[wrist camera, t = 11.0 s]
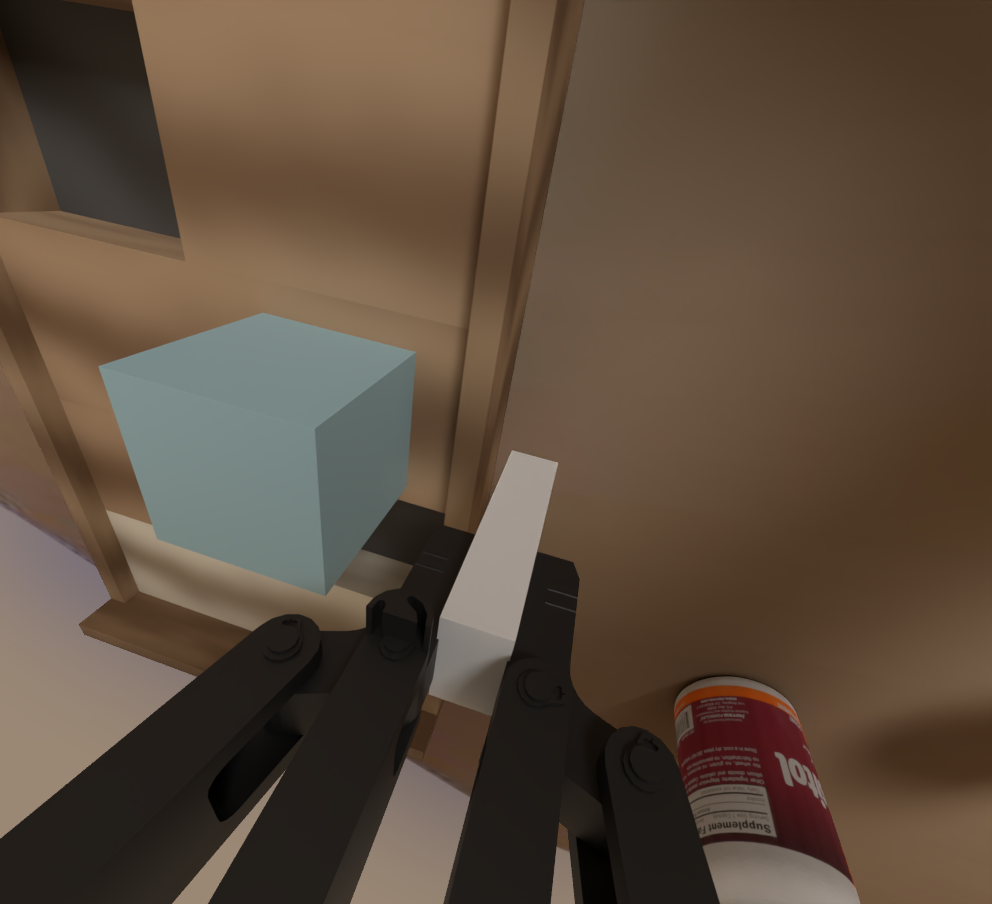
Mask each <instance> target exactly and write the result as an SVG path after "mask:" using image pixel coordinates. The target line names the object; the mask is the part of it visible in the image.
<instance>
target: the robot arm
mask: <svg viewBox="0 0 992 904" xmlns="http://www.w3.org/2000/svg"><path fill="white" fill-rule="evenodd" d="M557 466H558V463H557V462H554V461H550V460H546V459H542V458H539V457H535V456H531V455H528V454H524V453H520V452H517V451H513V450H512V451H511V454H510V456H509V458H508V461H507V463H506V465H505V468H504V470H503V472H502V475H501V477H500V479H499V481H498V484H497V486H496V488H495V491H494V493H493V495H492V498H491V500H490V502H489V505H488V507H487V509H486V512H485V514H484V516H483V518H482V521H481V523H480V525H479V528H478V530H477V532H476V535H475V534H472V533H469V532H465V531H462V530H459V529H455V528H452V527H449V526H445V525H444V526H443V527H442V528H440V529H439V530H437V531H436V532H435V533H433V534H432V535H430V537H429V539H428V541H427V542H426V544H425V546H424V548H423V549H422V552H421V553H420V555H419V557H418V558H417V560H416V562H415V565H413V567H412V569H411V571H410V572H409V574H408V576H407V578H406V580H405V581H404V583H403V585H402V587H401V588H399V589H393V590H387V591H385V592H383V593H381V594H379V595H377V596H375V597H374V598H373V599H372V600H371V601H370V602H369V603H368V604H367V605H366V627H365V628H362V629H358V630H351V631H320V630H319V626H318V625H317V624H316V623H315V622H314V621H313V620H312V619H311V618H308V617H306V616H303V615H301V614H285V615H282V616H278V617H275V618H272V619H270V620H268V621H267V622H265V623H264V624H262V625H260V626H259V627H258V628H256V629H255V630H254V631H253V632H251V633H250V634H249V635H248V636H247V637H245V638H244V639H243V640H242V641H241V642H239V643H238V644H237V645H236V646H234V647H233V648H232V649H231V650H230V651H228V652H227V653H226V654H225V655H223V656H222V657H221V658H220V659H219V660H217V661H216V662H215V663H214V664H213V665H211V666H210V667H209V668H208V669H206V670H205V671H204V672H203V673H202V674H200V675H199V676H198V677H197V678H196V679H194V680H193V681H192V682H191V683H189V684H188V685H187V686H186V687H185V688H183V689H182V690H181V691H180V692H178V693H177V694H176V695H175V696H174V697H172V698H171V699H170V700H169V701H167V702H166V703H165V704H164V705H163V706H161V707H160V708H159V709H158V710H157V711H155V712H154V713H153V714H152V715H150V716H149V717H148V718H147V719H146V720H144V721H143V722H142V723H141V724H139V725H138V726H137V727H136V728H135V729H133V730H132V731H131V732H130V733H129V734H127V735H126V736H125V737H124V738H123V739H121V740H120V741H119V742H118V743H116V744H115V745H114V746H113V747H111V748H110V749H109V750H108V751H107V752H105V753H104V754H103V755H102V756H101V757H99V758H98V759H97V760H96V761H95V762H93V763H92V764H91V765H90V766H88V767H87V768H86V769H85V770H83V771H82V772H81V773H80V774H79V775H77V776H76V777H75V778H74V779H73V780H71V781H70V782H69V783H68V784H66V785H65V786H64V787H63V788H62V789H60V790H59V791H58V792H57V793H56V794H54V795H53V796H52V797H51V798H50V799H48V800H47V801H46V802H45V803H43V804H42V805H41V806H40V807H39V808H37V809H36V810H35V811H34V812H33V813H31V814H30V815H29V816H27V817H26V818H25V819H24V820H23V821H21V822H20V823H19V824H18V825H17V826H15V827H14V828H13V829H12V830H11V831H9V832H8V833H7V834H6V835H4V836H3V837H2V838H1V839H0V904H172V903H173V902H174V901H175V899H176V898H177V897H178V896H179V895H180V894H181V892H182V891H183V890H184V889H185V887H186V886H187V885H188V884H189V883H190V882H191V881H192V879H193V878H194V877H195V876H196V874H198V872H199V871H200V870H201V869H202V868H203V866H204V865H205V864H206V863H207V861H208V860H209V859H210V858H211V857H212V856H213V855H214V853H215V852H216V851H217V850H218V849H219V848H220V846H221V845H222V844H223V843H224V842H225V840H226V839H227V838H228V837H229V836H230V835H231V833H232V832H233V831H234V830H235V829H236V828H237V826H238V825H239V824H240V823H241V822H242V821H243V819H244V818H245V817H246V816H247V815H248V814H249V812H250V811H251V810H252V809H253V808H254V806H255V805H256V804H257V803H258V802H259V801H260V799H261V798H262V797H263V796H264V795H265V794H266V792H267V791H268V790H269V789H270V788H271V786H272V785H273V784H274V783H275V782H276V780H277V779H278V778H279V777H280V776H281V775H282V773H283V772H284V771H285V770H286V771H285V773H284V774H283V776H282V778H281V779H280V781H279V783H278V785H277V786H276V788H275V790H274V791H273V793H272V795H271V797H270V798H269V800H268V802H267V803H266V805H265V807H264V809H263V810H262V812H261V814H260V816H259V817H258V819H257V821H256V822H255V824H254V826H253V828H252V829H251V831H250V833H249V834H248V836H247V838H246V840H245V841H244V843H243V845H242V847H241V848H240V850H239V851H238V853H237V855H236V857H235V858H234V860H233V862H232V864H231V865H230V867H229V869H228V870H227V872H226V874H225V876H224V877H223V879H222V881H221V882H220V884H219V886H218V888H217V889H216V891H215V893H214V894H213V896H212V898H211V900H210V902H209V903H208V904H350V902H351V899H352V897H353V894H354V892H355V889H356V886H357V883H358V881H359V878H360V876H361V873H362V871H363V868H364V865H365V863H366V860H367V858H368V855H369V852H370V850H371V847H372V844H373V842H374V839H375V836H376V834H377V831H378V829H379V826H380V824H381V821H382V818H383V816H384V813H385V810H386V808H387V805H388V802H389V800H390V797H391V795H392V792H393V789H394V787H395V784H396V782H397V779H398V776H399V774H400V771H401V768H402V766H403V763H404V761H405V758H406V756H407V753H408V750H409V748H410V745H411V742H412V740H413V737H414V735H415V732H416V729H417V727H418V724H419V721H420V715H421V710H422V706H423V703H424V701H425V698H426V695H427V693H428V690H429V695H432V696H435V697H438V698H440V699H443V700H446V701H449V702H452V703H455V704H458V705H460V706H463V707H466V708H469V709H472V710H475V711H478V712H480V713H483V714H486V715H489V716H492V717H491V721H490V725H489V729H488V733H487V736H486V739H485V743H484V746H483V749H482V753H481V756H480V759H479V766H478V770H477V774H476V778H475V782H474V786H473V789H472V793H471V797H470V801H469V806H468V809H467V813H466V817H465V821H464V825H463V829H462V833H461V837H460V841H459V845H458V849H457V852H456V857H455V860H454V864H453V869H452V872H451V876H450V880H449V884H448V888H447V892H446V896H445V900H444V904H550V903H551V892H552V884H553V875H554V864H555V855H556V845H557V836H558V826H559V822H560V823H561V824H562V825H563V826H565V827H566V828H567V829H568V839H569V849H570V858H571V868H572V878H573V888H574V897H575V904H720V902H719V899H718V895H717V892H716V889H715V885H714V882H713V879H712V875H711V872H710V869H709V865H708V862H707V859H706V855H705V852H704V849H703V845H702V842H701V839H700V835H699V832H698V829H697V826H696V822H695V819H694V816H693V812H692V809H691V806H690V802H689V799H688V796H687V792H686V789H685V786H684V782H683V779H682V776H681V772H680V770H679V767H678V765H677V763H676V761H675V759H674V757H673V754H672V753H671V752H670V751H669V749H668V748H667V747H666V746H665V744H664V743H663V742H662V741H661V740H660V739H659V738H657V737H656V736H654V735H653V734H652V733H650V732H649V731H647V730H644V729H641V728H637V727H634V726H630V727H623V728H619V729H618V730H617V729H615V728H614V727H613V726H611V725H610V724H608V723H607V722H606V721H604V720H603V719H601V718H600V717H599V716H597V715H596V714H594V713H593V712H592V711H591V710H590V709H589V708H588V707H586V706H585V705H584V703H583V702H582V701H581V699H580V698H579V697H578V695H577V693H576V691H575V689H574V687H573V685H572V681H571V677H570V661H571V652H572V643H573V634H574V625H575V616H576V614H575V613H576V607H577V597H578V589H579V580H580V579H579V577H578V574H577V571H576V568H575V566H574V563H573V562H570V561H567V560H564V559H560V558H557V557H553V556H550V555H547V554H543V553H540V552H537V549H538V545H539V541H540V537H541V533H542V528H543V524H544V520H545V516H546V512H547V507H548V503H549V499H550V495H551V491H552V487H553V482H554V478H555V474H556V470H557ZM429 688H430V689H429Z"/></svg>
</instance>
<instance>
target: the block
mask: <svg viewBox="0 0 992 904" xmlns="http://www.w3.org/2000/svg"><path fill="white" fill-rule="evenodd" d="M415 361H416V352H414V351H410V350H406V349H402V348H398V347H394V346H390V345H387V344H383V343H379V342H375V341H371V340H367V339H363V338H359V337H356V336H352V335H348V334H344V333H340V332H336V331H332V330H328V329H325V328H321V327H317V326H313V325H309V324H305V323H301V322H297V321H294V320H290V319H286V318H282V317H278V316H274V315H270V314H266V313H260V314H257V315H254V316H251V317H248V318H245V319H242V320H239V321H235V322H232V323H229V324H226V325H223V326H220V327H217V328H214V329H211V330H208V331H205V332H202V333H199V334H196V335H192V336H189V337H186V338H183V339H180V340H177V341H174V342H171V343H168V344H165V345H162V346H159V347H156V348H153V349H150V350H146V351H143V352H140V353H137V354H134V355H131V356H128V357H125V358H122V359H119V360H116V361H113V362H110V363H107V364H103V365H100V366H98V367H99V370H100V373H101V376H102V379H103V382H104V384H105V387H106V390H107V393H108V396H109V399H110V402H111V405H112V408H113V411H114V414H115V417H116V420H117V423H118V426H119V428H120V431H121V434H122V437H123V440H124V443H125V446H126V449H127V452H128V455H129V458H130V461H131V464H132V467H133V470H134V473H135V475H136V478H137V481H138V484H139V487H140V490H141V493H142V496H143V499H144V502H145V505H146V508H147V511H148V514H149V517H150V520H151V522H152V525H153V528H154V531H155V534H156V537H157V539H158V540H161V541H164V542H167V543H170V544H173V545H176V546H179V547H182V548H185V549H188V550H191V551H193V552H196V553H199V554H202V555H205V556H208V557H211V558H214V559H217V560H220V561H223V562H226V563H229V564H232V565H235V566H238V567H241V568H244V569H247V570H249V571H252V572H255V573H258V574H261V575H264V576H267V577H270V578H273V579H276V580H279V581H282V582H285V583H288V584H291V585H294V586H297V587H300V588H302V589H305V590H308V591H311V592H314V593H317V594H320V595H323V596H326V595H327V594H328V592H329V591H330V590H331V588H332V587H333V586H334V584H335V583H336V582H337V580H338V579H339V578H340V576H341V575H342V573H343V572H344V571H345V569H346V568H347V567H348V565H349V564H350V563H351V561H352V560H353V559H354V557H355V556H356V555H357V553H358V552H359V551H360V549H361V548H362V547H363V545H364V544H365V543H366V541H367V540H368V539H369V537H370V536H371V534H372V533H373V532H374V530H375V529H376V528H377V526H378V525H379V524H380V522H381V521H382V520H383V518H384V517H385V516H386V514H387V513H388V512H389V510H390V509H391V508H392V506H393V505H394V504H395V502H396V501H397V500H398V498H399V497H400V495H401V494H402V493H403V491H404V490H405V489H406V487H407V473H408V459H409V445H410V431H411V417H412V403H413V389H414V375H415Z"/></svg>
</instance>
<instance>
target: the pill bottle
mask: <svg viewBox="0 0 992 904" xmlns="http://www.w3.org/2000/svg"><path fill="white" fill-rule="evenodd" d="M674 719H675V729H676V740H677V749H678V760H679V770H680V772H681V776H682V779H683V782H684V786H685V789H686V792H687V796H688V799H689V802H690V806H691V809H692V812H693V816H694V819H695V822H696V826H697V829H698V832H699V835H700V839H701V842H702V845H703V849H704V852H705V855H706V859H707V862H708V865H709V869H710V872H711V875H712V879H713V882H714V885H715V889H716V892H717V895H718V899H719V902H720V904H860V901H859V898H858V895H857V891H856V888H855V885H854V882H853V879H852V877H851V874H850V871H849V868H848V865H847V862H846V858H845V856H844V853H843V850H842V847H841V843H840V840H839V838H838V835H837V832H836V829H835V826H834V823H833V820H832V816H831V814H830V811H829V808H828V806H827V803H826V800H825V797H824V794H823V791H822V788H821V785H820V782H819V779H818V776H817V773H816V770H815V767H814V764H813V761H812V757H811V754H810V751H809V748H808V745H807V742H806V739H805V736H804V733H803V730H802V727H801V724H800V722H799V719H798V717H797V714H796V712H795V710H794V708H793V706H792V705H791V704H790V702H789V701H788V700H787V699H786V698H785V697H784V696H782V695H781V694H780V693H778V692H777V691H775V690H774V689H772V688H770V687H768V686H766V685H764V684H762V683H759V682H756V681H753V680H749V679H746V678H741V677H732V676H723V677H712V678H707V679H703V680H700V681H697V682H695V683H692V684H691V685H689V686H687V687H686V688H684V689H683V690H682V691H681V692H680V694H679V695H678V697H677V699H676V701H675V706H674Z"/></svg>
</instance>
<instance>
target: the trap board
mask: <svg viewBox="0 0 992 904" xmlns="http://www.w3.org/2000/svg"><path fill="white" fill-rule="evenodd" d="M583 5H584V0H0V363H1V365H2V368H3V370H4V372H5V374H6V376H7V378H8V380H9V382H10V384H11V387H12V389H13V391H14V393H15V395H16V397H17V399H18V401H19V404H20V406H21V408H22V410H23V412H24V414H25V416H26V418H27V421H28V423H29V425H30V427H31V429H32V431H33V433H34V435H35V438H36V440H37V442H38V444H39V446H40V448H41V450H42V452H43V454H44V457H45V459H46V461H47V463H48V465H49V467H50V469H51V471H52V474H53V476H54V478H55V480H56V482H57V484H58V486H59V488H60V491H61V493H62V495H63V497H64V499H65V501H66V503H67V505H68V507H69V510H70V512H71V514H72V516H73V518H74V520H75V522H76V524H77V527H78V529H79V531H80V533H81V535H82V537H83V539H84V541H85V544H86V546H87V548H88V550H89V552H90V554H91V556H92V558H93V560H94V563H95V565H96V567H97V569H98V571H99V573H100V575H101V577H102V580H103V581H104V584H105V586H106V588H107V590H108V592H109V594H110V597H111V600H109V601H108V602H106V603H105V604H104V605H103V606H101V607H100V608H99V609H98V610H96V611H95V612H94V613H93V614H91V615H90V616H89V617H88V618H86V619H85V620H84V621H82V622H81V623H80V624H79V626H80V627H81V629H82V631H83V633H84V634H85V635H87V636H90V637H92V638H95V639H98V640H100V641H103V642H106V643H109V644H111V645H114V646H116V647H119V648H122V649H124V650H127V651H130V652H132V653H135V654H138V655H140V656H143V657H146V658H148V659H151V660H154V661H157V662H159V663H162V664H165V665H167V666H170V667H173V668H175V669H178V670H181V671H183V672H186V673H189V674H192V675H194V676H197V677H198V676H199V675H200V674H202V673H203V672H204V671H205V670H206V669H208V668H209V667H210V666H211V665H213V664H214V663H215V662H216V661H217V660H219V659H220V658H221V657H222V656H223V655H225V654H226V653H227V652H228V651H230V650H231V649H232V648H233V647H234V646H236V645H237V644H238V643H239V642H241V641H242V640H243V639H244V638H245V637H247V636H248V635H249V634H250V633H251V632H253V631H254V630H255V629H256V628H258V627H259V626H260V625H262V624H264V623H265V622H267V621H268V620H270V619H272V618H275V617H278V616H282V615H285V614H301V615H303V616H306V617H308V618H311V619H312V620H313V621H314V622H315V623H316V624H317V625H318V626H319V630H320V631H351V630H358V629H362V628H365V627H366V605H367V604H368V603H369V602H370V601H371V600H372V599H373V598H374V597H375V596H377V595H379V594H381V593H383V592H385V591H387V590H393V589H399V588H401V587H402V585H403V583H404V581H405V580H406V578H407V576H408V574H409V572H410V571H411V569H412V567H413V565H415V562H416V560H417V558H418V557H419V555H420V553H421V552H422V549H423V548H424V546H425V544H426V542H427V541H428V539H429V537H430V535H432V534H433V533H435V532H436V531H437V530H439V529H440V528H442V527H443V526H444V525H445V526H449V527H452V528H455V529H459V530H462V531H465V532H469V533H472V534H475V535H476V532H477V530H478V528H479V525H480V523H481V521H482V518H483V516H484V514H485V512H486V509H487V505H488V499H489V494H490V489H491V484H492V479H493V473H494V468H495V463H496V458H497V453H498V447H499V442H500V437H501V432H502V427H503V421H504V416H505V411H506V406H507V401H508V395H509V390H510V385H511V380H512V375H513V369H514V364H515V359H516V354H517V349H518V343H519V338H520V333H521V328H522V323H523V317H524V312H525V307H526V302H527V297H528V291H529V286H530V281H531V276H532V271H533V265H534V260H535V255H536V250H537V245H538V239H539V234H540V229H541V224H542V219H543V213H544V208H545V203H546V198H547V193H548V187H549V182H550V177H551V172H552V167H553V161H554V156H555V151H556V146H557V140H558V135H559V130H560V125H561V120H562V114H563V109H564V104H565V99H566V94H567V88H568V83H569V78H570V73H571V68H572V62H573V57H574V52H575V47H576V42H577V36H578V31H579V26H580V21H581V16H582V10H583ZM260 313H266V314H270V315H274V316H278V317H282V318H286V319H290V320H294V321H297V322H301V323H305V324H309V325H313V326H317V327H321V328H325V329H328V330H332V331H336V332H340V333H344V334H348V335H352V336H356V337H359V338H363V339H367V340H371V341H375V342H379V343H383V344H387V345H390V346H394V347H398V348H402V349H406V350H410V351H414V352H416V361H415V375H414V389H413V403H412V417H411V431H410V445H409V459H408V473H407V487H406V489H405V490H404V491H403V493H402V494H401V495H400V497H399V498H398V500H397V501H396V502H395V504H394V505H393V506H392V508H391V509H390V510H389V512H388V513H387V514H386V516H385V517H384V518H383V520H382V521H381V522H380V524H379V525H378V526H377V528H376V529H375V530H374V532H373V533H372V534H371V536H370V537H369V539H368V540H367V541H366V543H365V544H364V545H363V547H362V548H361V549H360V551H359V552H358V553H357V555H356V556H355V557H354V559H353V560H352V561H351V563H350V564H349V565H348V567H347V568H346V569H345V571H344V572H343V573H342V575H341V576H340V578H339V579H338V580H337V582H336V583H335V584H334V586H333V587H332V588H331V590H330V591H329V592H328V594H327V595H326V596H323V595H320V594H317V593H314V592H311V591H308V590H305V589H302V588H300V587H297V586H294V585H291V584H288V583H285V582H282V581H279V580H276V579H273V578H270V577H267V576H264V575H261V574H258V573H255V572H252V571H249V570H247V569H244V568H241V567H238V566H235V565H232V564H229V563H226V562H223V561H220V560H217V559H214V558H211V557H208V556H205V555H202V554H199V553H196V552H193V551H191V550H188V549H185V548H182V547H179V546H176V545H173V544H170V543H167V542H164V541H161V540H158V539H157V537H156V534H155V531H154V528H153V525H152V522H151V520H150V517H149V514H148V511H147V508H146V505H145V502H144V499H143V496H142V493H141V490H140V487H139V484H138V481H137V478H136V475H135V473H134V470H133V467H132V464H131V461H130V458H129V455H128V452H127V449H126V446H125V443H124V440H123V437H122V434H121V431H120V428H119V426H118V423H117V420H116V417H115V414H114V411H113V408H112V405H111V402H110V399H109V396H108V393H107V390H106V387H105V384H104V382H103V379H102V376H101V373H100V370H99V367H98V366H100V365H103V364H107V363H110V362H113V361H116V360H119V359H122V358H125V357H128V356H131V355H134V354H137V353H140V352H143V351H146V350H150V349H153V348H156V347H159V346H162V345H165V344H168V343H171V342H174V341H177V340H180V339H183V338H186V337H189V336H192V335H196V334H199V333H202V332H205V331H208V330H211V329H214V328H217V327H220V326H223V325H226V324H229V323H232V322H235V321H239V320H242V319H245V318H248V317H251V316H254V315H257V314H260ZM429 689H430V688H429ZM443 701H444V700H443V699H440V698H438V697H435V696H432V695H429V690H428V693H427V695H426V698H425V701H424V703H423V706H422V710H421V715H420V721H419V724H418V727H417V729H416V732H415V735H414V737H413V740H412V742H411V745H410V748H409V750H408V753H407V755H408V756H410V757H413V758H416V759H418V760H421V761H422V760H423V757H424V754H425V751H426V749H427V746H428V743H429V740H430V737H431V735H432V732H433V729H434V726H435V723H436V721H437V718H438V715H439V712H440V709H441V707H442V704H443Z"/></svg>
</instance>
